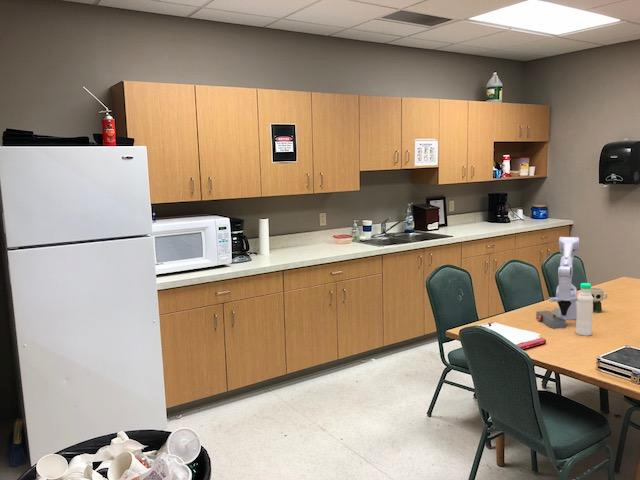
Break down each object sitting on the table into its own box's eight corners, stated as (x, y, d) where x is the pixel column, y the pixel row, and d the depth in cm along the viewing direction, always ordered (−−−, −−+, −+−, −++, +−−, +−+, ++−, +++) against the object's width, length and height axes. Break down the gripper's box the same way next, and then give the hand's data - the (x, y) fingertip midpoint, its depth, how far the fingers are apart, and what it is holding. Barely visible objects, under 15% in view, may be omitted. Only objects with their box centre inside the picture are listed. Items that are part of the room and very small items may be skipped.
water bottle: (585, 337, 247) (587, 285, 244) (572, 333, 253) (574, 283, 250) (595, 334, 250) (597, 284, 247) (581, 330, 256) (583, 281, 253)
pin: (557, 319, 276) (557, 313, 275) (560, 321, 273) (560, 315, 272) (537, 320, 276) (537, 314, 275) (539, 321, 272) (539, 315, 272)
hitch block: (549, 318, 279) (549, 309, 278) (565, 328, 261) (565, 318, 261) (536, 318, 279) (536, 309, 278) (551, 328, 261) (552, 318, 260)
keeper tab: (555, 314, 268) (555, 308, 267) (560, 317, 263) (560, 310, 263) (554, 314, 268) (554, 308, 267) (558, 317, 263) (558, 310, 263)
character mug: (583, 311, 290) (584, 289, 288) (585, 308, 296) (586, 286, 294) (605, 314, 284) (606, 291, 282) (607, 311, 289) (608, 288, 288)
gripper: (554, 291, 260) (553, 317, 261) (582, 290, 260) (581, 316, 262) (547, 288, 267) (547, 313, 268) (575, 287, 267) (574, 313, 269)
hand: (563, 315), depth 266 cm, fingers closed
